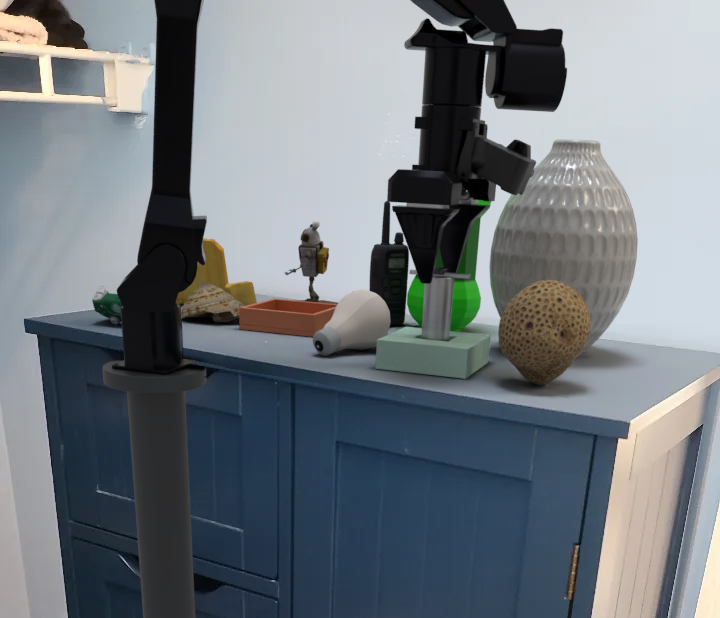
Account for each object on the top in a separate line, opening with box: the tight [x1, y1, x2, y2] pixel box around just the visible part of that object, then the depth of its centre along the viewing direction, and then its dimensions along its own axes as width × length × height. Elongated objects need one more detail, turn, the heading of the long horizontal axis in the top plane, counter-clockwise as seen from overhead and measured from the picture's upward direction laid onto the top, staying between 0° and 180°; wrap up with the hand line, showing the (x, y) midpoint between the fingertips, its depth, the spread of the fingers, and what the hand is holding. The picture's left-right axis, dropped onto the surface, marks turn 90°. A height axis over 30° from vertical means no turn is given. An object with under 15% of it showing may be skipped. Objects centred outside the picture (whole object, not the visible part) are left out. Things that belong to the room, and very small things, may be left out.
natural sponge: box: [497, 280, 591, 386], centre depth 93 cm, size 9×9×10 cm
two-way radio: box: [369, 200, 410, 326], centre depth 123 cm, size 6×4×15 cm
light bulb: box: [312, 289, 391, 357], centre depth 107 cm, size 7×7×11 cm
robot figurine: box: [284, 219, 339, 304], centre depth 131 cm, size 11×9×12 cm
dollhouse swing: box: [175, 237, 258, 306], centre depth 134 cm, size 10×10×9 cm
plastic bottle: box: [406, 200, 492, 332], centre depth 118 cm, size 10×11×25 cm
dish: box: [238, 298, 337, 338], centre depth 121 cm, size 10×10×3 cm
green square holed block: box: [375, 326, 492, 380], centre depth 102 cm, size 10×10×3 cm
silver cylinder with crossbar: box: [408, 267, 471, 342], centre depth 100 cm, size 3×6×10 cm, turn 69°
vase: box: [488, 138, 639, 357], centre depth 107 cm, size 16×16×22 cm
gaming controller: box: [91, 285, 122, 325], centre depth 118 cm, size 9×4×6 cm
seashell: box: [181, 282, 244, 323], centre depth 123 cm, size 8×6×8 cm
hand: (438, 279), depth 98 cm, fingers open, 9 cm apart
